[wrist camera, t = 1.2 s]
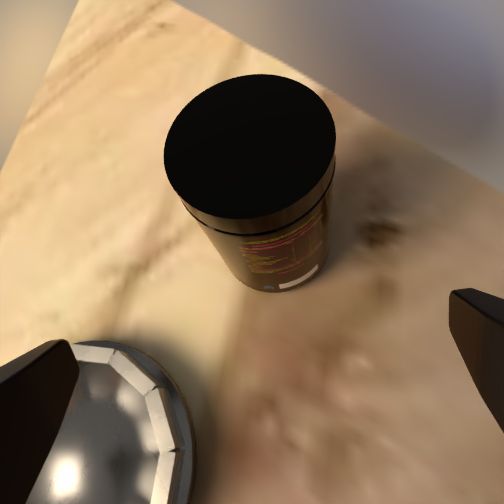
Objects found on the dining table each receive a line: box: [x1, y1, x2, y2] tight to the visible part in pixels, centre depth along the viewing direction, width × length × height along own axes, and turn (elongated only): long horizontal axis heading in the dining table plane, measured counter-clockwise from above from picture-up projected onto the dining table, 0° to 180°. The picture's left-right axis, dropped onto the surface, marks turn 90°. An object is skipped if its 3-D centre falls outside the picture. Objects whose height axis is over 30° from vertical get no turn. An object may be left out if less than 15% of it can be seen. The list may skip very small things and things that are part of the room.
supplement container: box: [164, 74, 336, 293], centre depth 19 cm, size 7×7×10 cm
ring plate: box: [26, 341, 196, 504], centre depth 20 cm, size 13×13×2 cm
